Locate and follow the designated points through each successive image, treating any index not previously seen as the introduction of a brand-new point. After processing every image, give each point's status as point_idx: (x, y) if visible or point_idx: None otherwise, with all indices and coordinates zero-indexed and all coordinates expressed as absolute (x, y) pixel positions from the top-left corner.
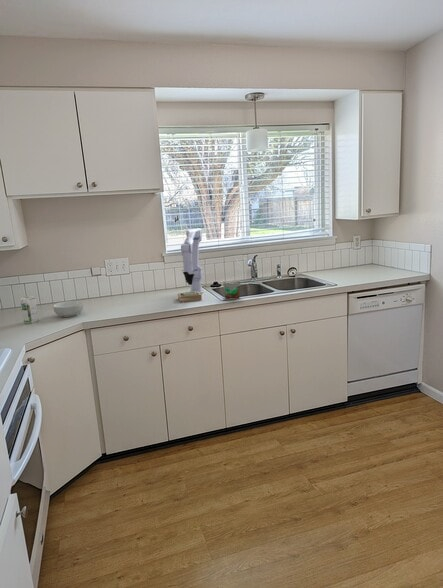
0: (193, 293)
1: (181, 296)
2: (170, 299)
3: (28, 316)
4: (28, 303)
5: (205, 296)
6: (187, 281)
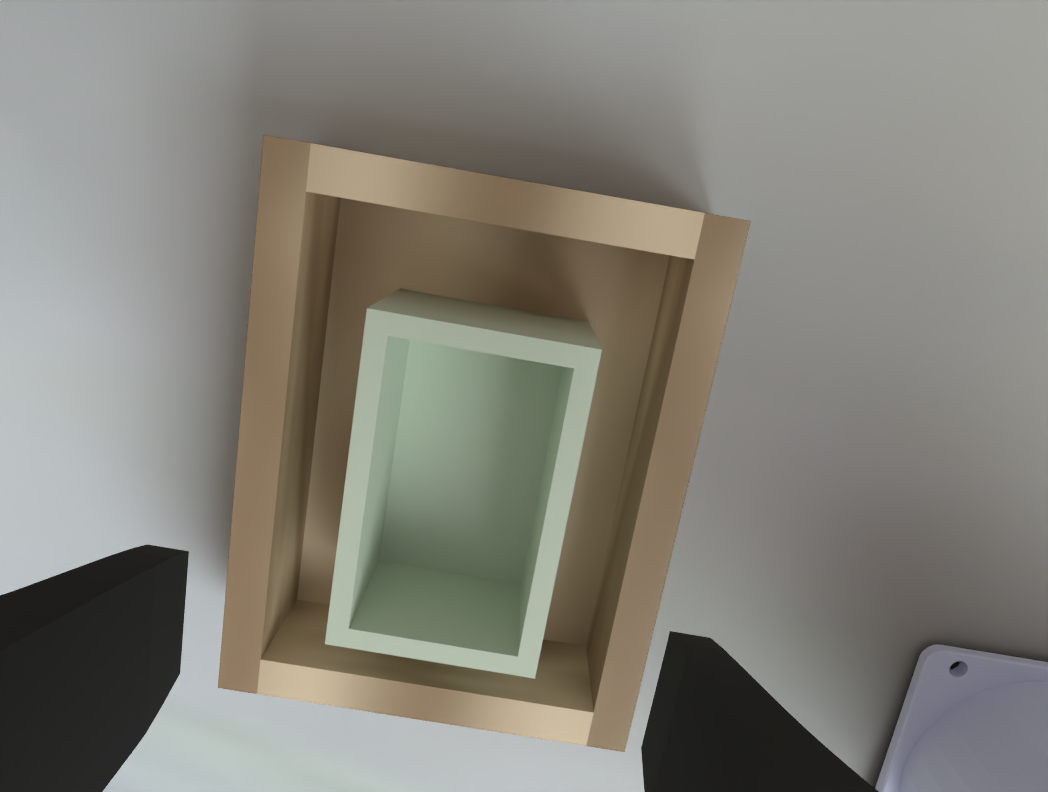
0: (339, 553)
1: (296, 178)
2: (779, 10)
3: None
4: None
5: (526, 782)
6: (673, 699)
